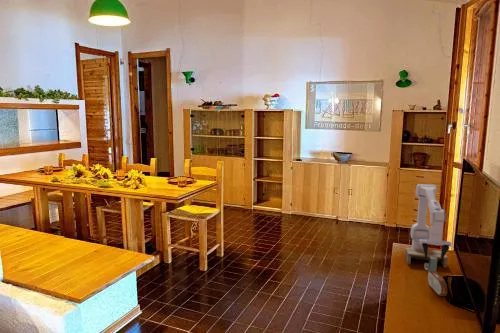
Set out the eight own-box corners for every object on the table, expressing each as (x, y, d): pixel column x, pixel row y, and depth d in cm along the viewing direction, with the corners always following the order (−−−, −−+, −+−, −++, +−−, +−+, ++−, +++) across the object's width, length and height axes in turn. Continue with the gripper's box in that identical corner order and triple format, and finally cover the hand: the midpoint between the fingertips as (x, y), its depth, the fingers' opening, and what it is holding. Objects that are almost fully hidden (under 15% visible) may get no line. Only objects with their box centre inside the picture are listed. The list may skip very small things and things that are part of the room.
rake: (423, 266, 203) (425, 249, 201) (431, 267, 202) (433, 250, 200) (428, 276, 192) (429, 258, 190) (436, 277, 191) (438, 259, 189)
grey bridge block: (405, 257, 216) (405, 247, 214) (442, 260, 211) (443, 250, 210) (407, 264, 207) (408, 253, 206) (446, 267, 202) (447, 257, 201)
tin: (447, 299, 171) (448, 282, 169) (440, 299, 171) (441, 282, 169) (432, 283, 186) (433, 267, 184) (425, 283, 186) (427, 267, 184)
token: (423, 267, 204) (423, 265, 204) (431, 268, 203) (431, 266, 203) (424, 270, 200) (424, 269, 200) (432, 271, 199) (432, 269, 199)
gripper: (422, 234, 186) (420, 259, 188) (454, 237, 182) (451, 262, 185) (419, 229, 193) (417, 254, 195) (450, 232, 189) (447, 256, 192)
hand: (433, 257), depth 190 cm, fingers open, 7 cm apart
